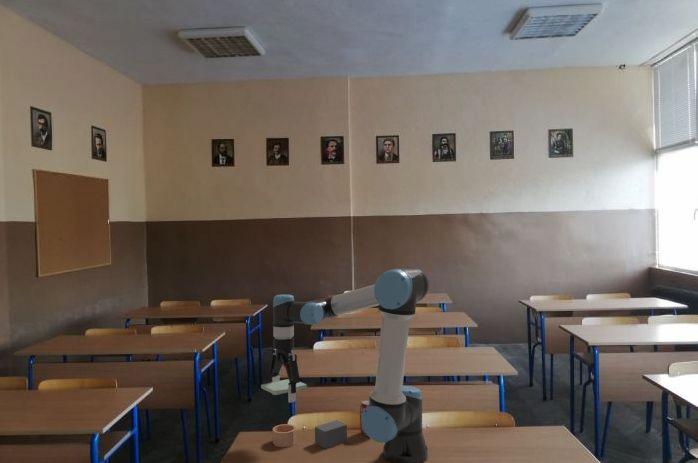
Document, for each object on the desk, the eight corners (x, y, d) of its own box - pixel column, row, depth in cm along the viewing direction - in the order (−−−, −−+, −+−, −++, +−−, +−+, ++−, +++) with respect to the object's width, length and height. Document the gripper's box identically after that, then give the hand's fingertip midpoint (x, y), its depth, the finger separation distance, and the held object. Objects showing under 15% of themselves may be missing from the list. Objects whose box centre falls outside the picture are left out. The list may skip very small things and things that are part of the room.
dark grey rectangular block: (346, 441, 181) (346, 424, 181) (324, 448, 175) (324, 431, 175) (337, 436, 186) (336, 420, 186) (315, 443, 179) (314, 426, 179)
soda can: (379, 437, 184) (378, 405, 184) (360, 437, 184) (359, 405, 185) (378, 430, 191) (378, 398, 191) (360, 430, 191) (359, 398, 192)
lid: (306, 387, 181) (306, 384, 181) (275, 395, 173) (275, 391, 173) (291, 381, 189) (291, 378, 189) (261, 388, 181) (261, 384, 181)
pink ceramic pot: (300, 442, 180) (300, 429, 180) (280, 449, 175) (280, 435, 175) (288, 435, 186) (288, 422, 186) (268, 441, 181) (268, 428, 181)
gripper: (309, 340, 174) (310, 403, 174) (276, 331, 192) (276, 388, 192) (291, 343, 170) (292, 408, 170) (259, 333, 188) (259, 392, 187)
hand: (283, 397), depth 181 cm, fingers closed on lid, 10 cm apart
